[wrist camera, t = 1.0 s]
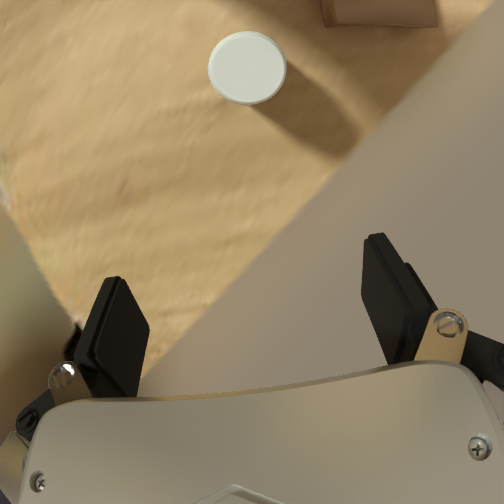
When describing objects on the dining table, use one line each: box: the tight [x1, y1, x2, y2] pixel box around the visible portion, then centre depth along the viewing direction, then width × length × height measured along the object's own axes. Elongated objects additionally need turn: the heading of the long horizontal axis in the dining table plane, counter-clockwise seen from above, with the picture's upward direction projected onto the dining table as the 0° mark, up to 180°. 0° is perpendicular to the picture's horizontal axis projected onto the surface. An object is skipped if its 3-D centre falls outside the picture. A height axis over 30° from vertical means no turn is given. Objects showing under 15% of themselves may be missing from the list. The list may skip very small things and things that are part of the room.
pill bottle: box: [208, 31, 287, 105], centre depth 22 cm, size 6×6×10 cm
